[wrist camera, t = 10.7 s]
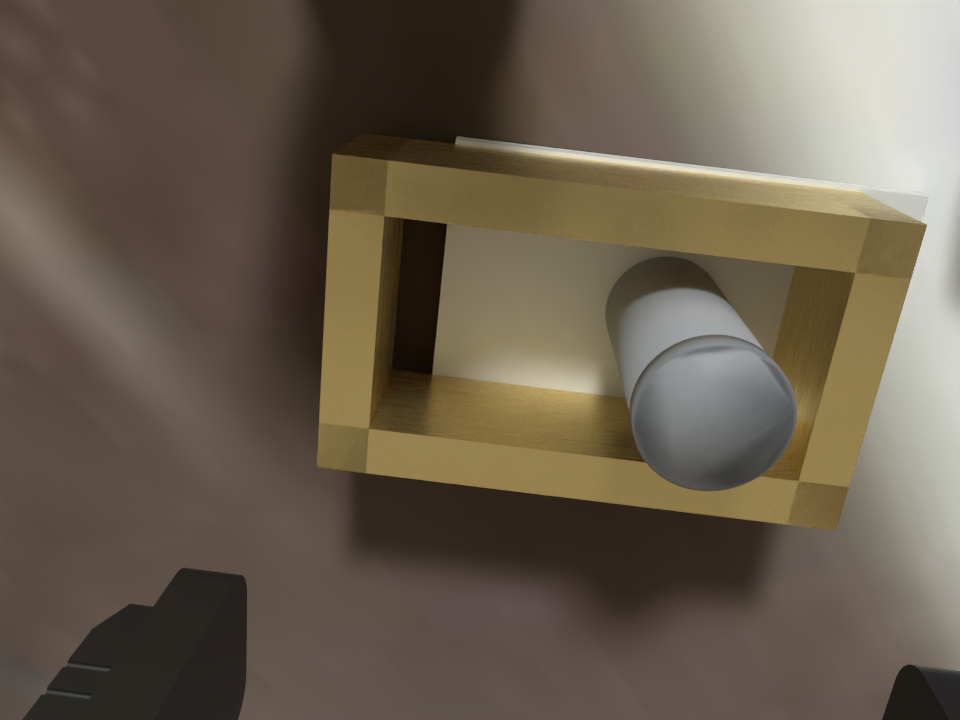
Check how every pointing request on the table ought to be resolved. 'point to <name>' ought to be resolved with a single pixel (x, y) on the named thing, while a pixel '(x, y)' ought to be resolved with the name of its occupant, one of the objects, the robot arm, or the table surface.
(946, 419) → the table surface
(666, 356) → the peg stand
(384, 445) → the rectangular wooden frame
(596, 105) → the table surface
